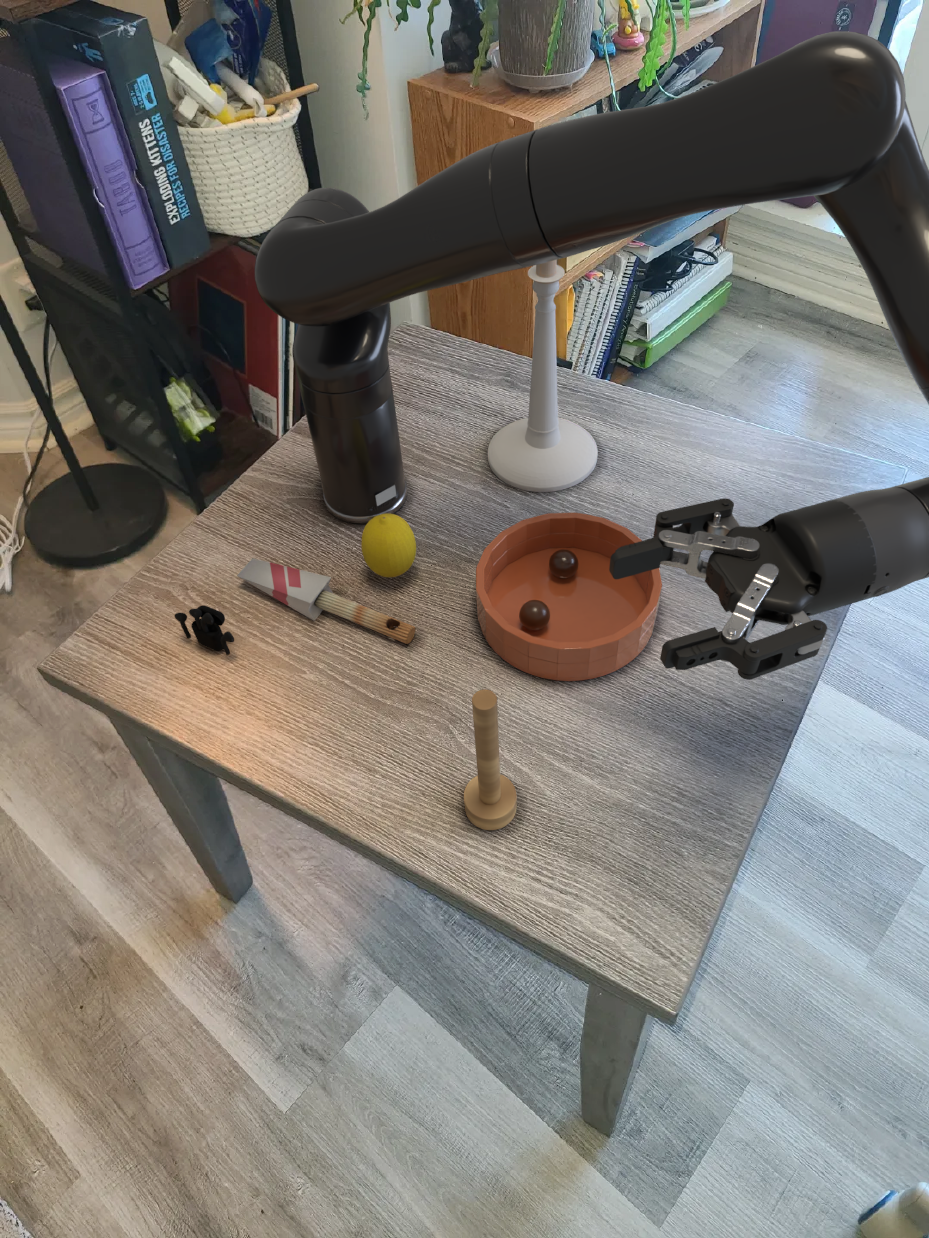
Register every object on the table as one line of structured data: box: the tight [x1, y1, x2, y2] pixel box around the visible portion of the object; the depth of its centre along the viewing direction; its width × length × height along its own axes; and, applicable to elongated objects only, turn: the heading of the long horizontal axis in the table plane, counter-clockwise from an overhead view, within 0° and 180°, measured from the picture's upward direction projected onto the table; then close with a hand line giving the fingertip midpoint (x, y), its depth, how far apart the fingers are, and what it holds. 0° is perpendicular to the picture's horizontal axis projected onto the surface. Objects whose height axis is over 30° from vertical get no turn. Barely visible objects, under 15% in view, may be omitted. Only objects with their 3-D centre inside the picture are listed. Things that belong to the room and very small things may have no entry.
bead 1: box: [519, 600, 550, 631], centre depth 87 cm, size 3×3×3 cm
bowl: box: [475, 512, 663, 682], centre depth 88 cm, size 18×18×5 cm
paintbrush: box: [236, 557, 416, 645], centre depth 90 cm, size 4×3×20 cm
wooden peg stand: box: [463, 688, 518, 831], centre depth 70 cm, size 4×4×16 cm
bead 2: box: [549, 549, 578, 579], centre depth 91 cm, size 3×3×3 cm
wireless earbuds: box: [174, 605, 235, 656], centre depth 87 cm, size 7×2×5 cm, turn 63°
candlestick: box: [487, 260, 599, 493], centre depth 93 cm, size 13×13×30 cm
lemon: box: [360, 513, 417, 578], centre depth 91 cm, size 6×6×8 cm
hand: (636, 610), depth 61 cm, fingers open, 8 cm apart
